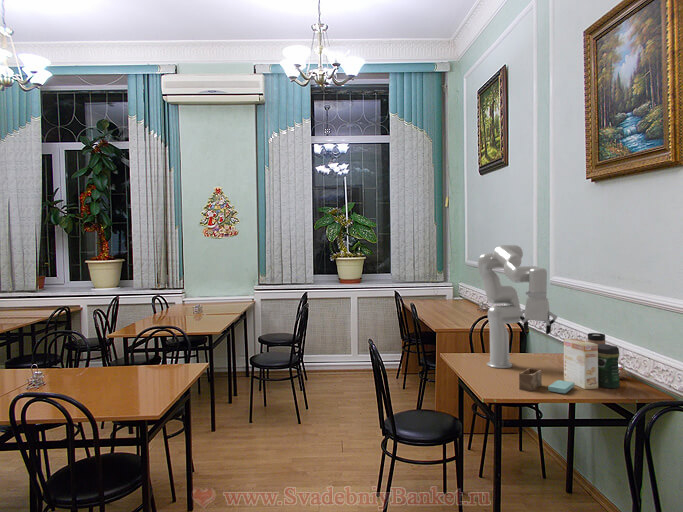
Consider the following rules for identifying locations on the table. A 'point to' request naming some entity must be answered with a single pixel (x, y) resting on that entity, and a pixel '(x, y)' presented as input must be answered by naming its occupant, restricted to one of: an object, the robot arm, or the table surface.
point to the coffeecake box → (581, 363)
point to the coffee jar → (608, 366)
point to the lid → (561, 386)
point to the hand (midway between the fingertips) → (537, 332)
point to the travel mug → (596, 338)
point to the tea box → (530, 379)
